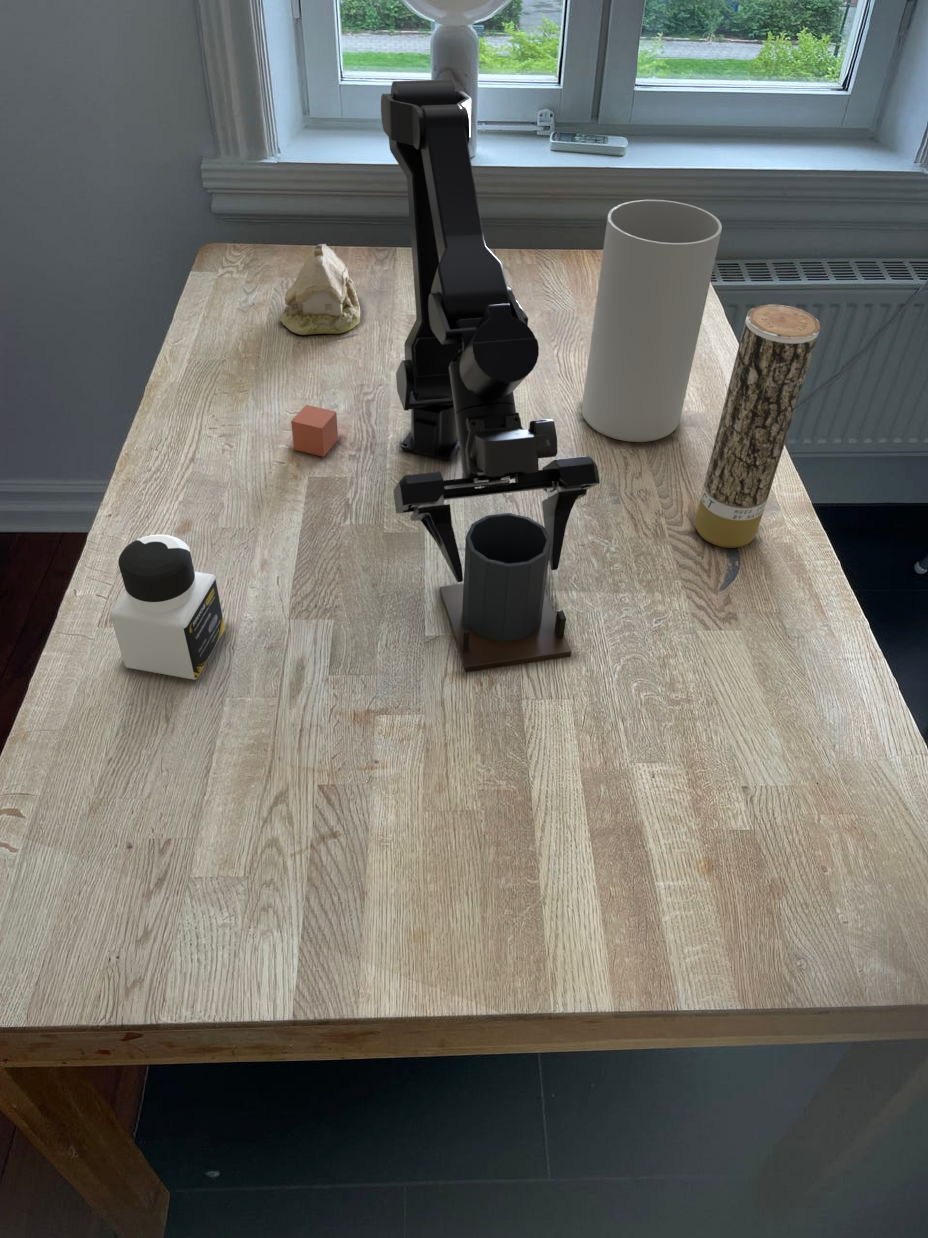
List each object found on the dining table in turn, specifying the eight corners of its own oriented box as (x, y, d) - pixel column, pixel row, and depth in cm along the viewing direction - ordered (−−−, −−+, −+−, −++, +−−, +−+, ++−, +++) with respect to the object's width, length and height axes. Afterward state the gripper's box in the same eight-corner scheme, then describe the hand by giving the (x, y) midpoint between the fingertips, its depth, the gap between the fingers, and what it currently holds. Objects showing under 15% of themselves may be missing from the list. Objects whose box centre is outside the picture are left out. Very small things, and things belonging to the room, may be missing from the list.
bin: (455, 593, 98) (458, 518, 91) (528, 583, 99) (536, 509, 93) (473, 646, 92) (478, 570, 86) (550, 635, 94) (560, 559, 87)
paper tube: (758, 520, 109) (823, 312, 92) (751, 557, 105) (817, 344, 88) (698, 507, 111) (751, 299, 94) (688, 542, 106) (742, 330, 89)
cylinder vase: (568, 430, 122) (593, 230, 104) (596, 384, 130) (624, 192, 113) (666, 454, 118) (709, 252, 101) (688, 405, 127) (731, 211, 110)
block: (308, 432, 119) (306, 404, 116) (338, 439, 118) (336, 411, 115) (293, 449, 116) (290, 420, 114) (324, 457, 115) (321, 428, 113)
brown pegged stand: (439, 592, 99) (439, 567, 96) (537, 579, 101) (540, 554, 98) (465, 672, 91) (466, 647, 89) (570, 657, 93) (574, 631, 90)
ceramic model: (357, 338, 137) (354, 269, 130) (277, 335, 137) (270, 266, 130) (365, 293, 147) (363, 227, 140) (291, 290, 147) (285, 224, 140)
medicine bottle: (197, 682, 89) (175, 584, 81) (124, 668, 90) (94, 570, 81) (226, 629, 94) (208, 531, 86) (157, 617, 95) (132, 519, 86)
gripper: (397, 398, 82) (423, 582, 82) (607, 379, 85) (631, 556, 85) (383, 428, 93) (405, 590, 92) (570, 410, 96) (591, 566, 96)
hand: (507, 575), depth 91 cm, fingers open, 9 cm apart
